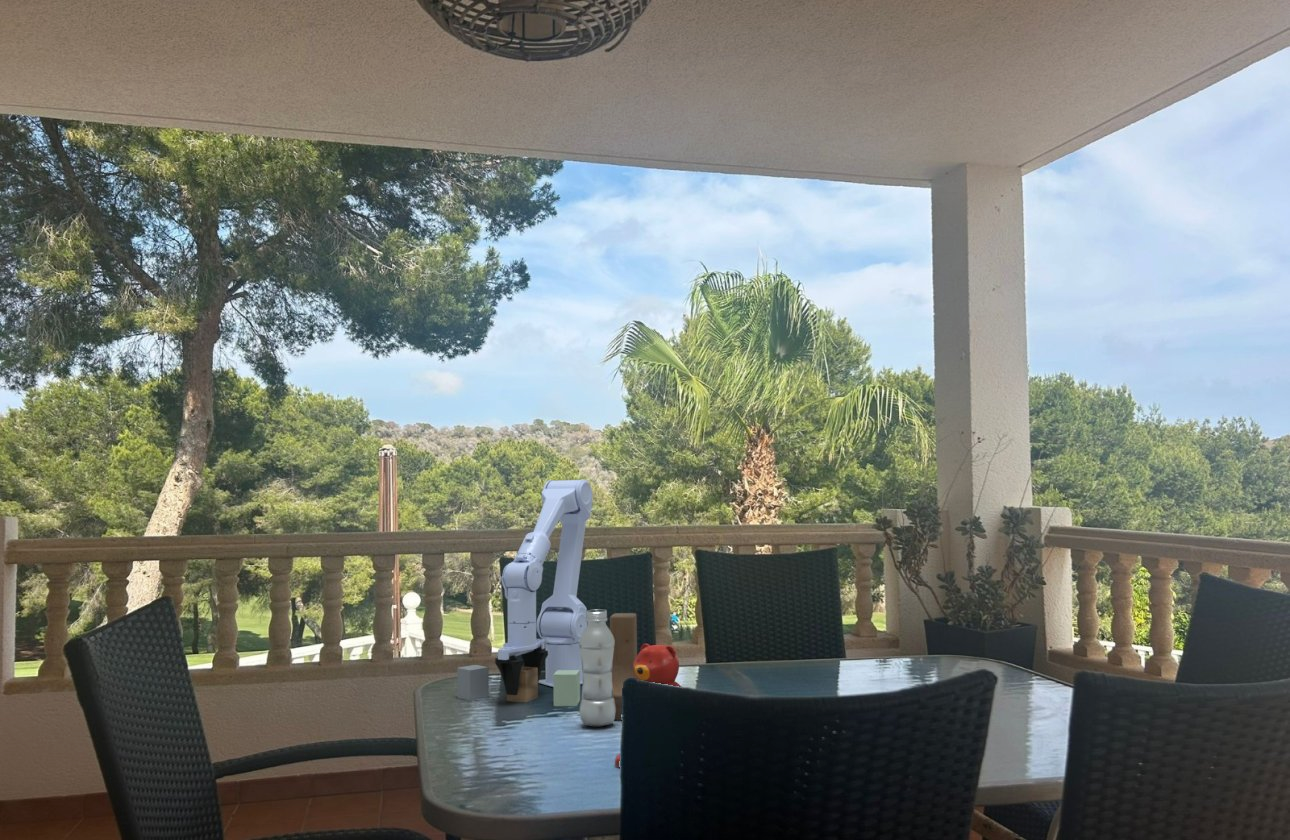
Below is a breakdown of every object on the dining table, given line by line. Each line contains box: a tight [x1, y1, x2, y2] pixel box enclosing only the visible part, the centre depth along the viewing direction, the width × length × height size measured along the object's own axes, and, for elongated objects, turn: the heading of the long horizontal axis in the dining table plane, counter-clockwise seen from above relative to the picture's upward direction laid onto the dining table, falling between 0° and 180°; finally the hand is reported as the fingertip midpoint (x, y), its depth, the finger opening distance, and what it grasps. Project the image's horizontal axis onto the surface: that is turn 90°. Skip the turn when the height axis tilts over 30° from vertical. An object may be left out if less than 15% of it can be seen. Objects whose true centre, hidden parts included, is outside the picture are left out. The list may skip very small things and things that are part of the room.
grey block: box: [456, 664, 490, 702], centre depth 190 cm, size 4×4×6 cm
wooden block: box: [609, 612, 638, 721], centre depth 173 cm, size 9×4×18 cm, turn 173°
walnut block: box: [506, 666, 539, 703], centre depth 187 cm, size 4×4×6 cm
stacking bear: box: [614, 643, 682, 768], centre depth 140 cm, size 11×10×18 cm
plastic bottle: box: [579, 609, 616, 728], centre depth 165 cm, size 6×7×20 cm
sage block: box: [552, 670, 581, 707], centre depth 183 cm, size 4×4×6 cm
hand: (522, 690), depth 187 cm, fingers open, 7 cm apart
